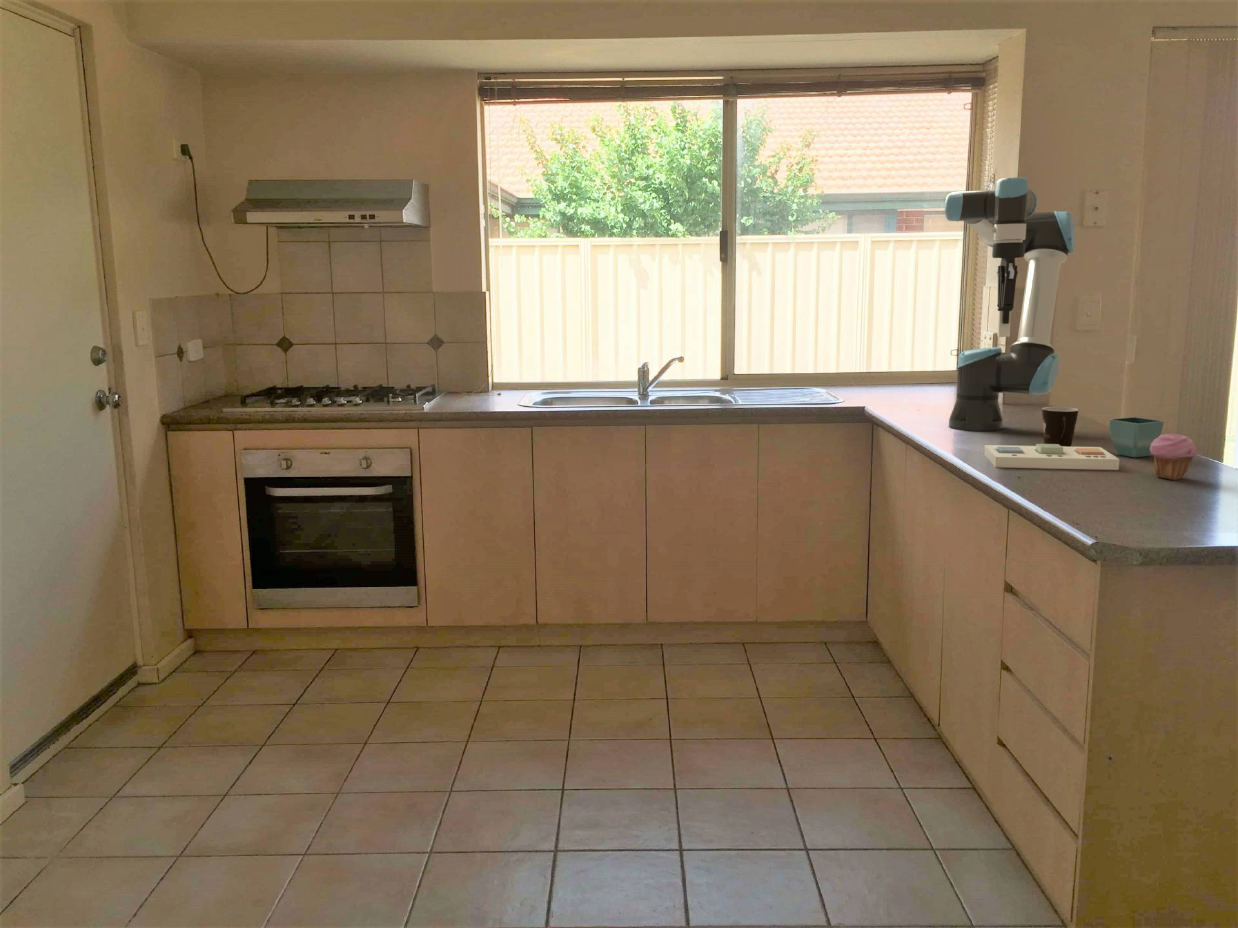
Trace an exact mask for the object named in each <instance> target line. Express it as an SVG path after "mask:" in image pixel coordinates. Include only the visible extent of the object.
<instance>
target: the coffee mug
mask: <svg viewBox="0 0 1238 928" xmlns="http://www.w3.org/2000/svg"><path fill="white" fill-rule="evenodd" d="M1041 412H1042V428H1043V430H1042V431H1043V444H1059V445H1060V446H1065V447H1072V445H1073V439H1074V435H1075V430H1076V424H1077V419H1078V415H1079V414H1078V413H1079V409H1078V408H1074V407H1065V406H1046V407H1042V408H1041Z"/></svg>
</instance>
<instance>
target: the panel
mask: <svg viewBox="0 0 1238 928" xmlns="http://www.w3.org/2000/svg"><path fill="white" fill-rule="evenodd" d="M997 447H1019V448H1020V449H1022V450H1023V454H1016V453H998V452H997ZM1061 447H1063V454H1038V453H1037V452H1036V445H995V444H994V445H993V444H985V445H984V454H983V455H984V457H985V458H986V459H987V460H988V461H989V462H990V463H991V464H992V465H993V466H994V468H1009V469H1010V468H1011V469H1012V468H1017V469H1055V470H1056V469H1057V470H1058V469H1060V470H1061V469H1062V470H1098V471H1099V470H1100V471H1101V470H1102V471H1103V470H1107V471H1114V470H1115V471H1119V469H1120V459H1119V458H1118V457H1117V456H1115V455H1114V454H1112V453H1110V452H1109V451H1108V450H1106V449H1104V448H1103V447H1102V446H1071V447H1065V446H1061ZM1076 448H1098V449H1100V450H1101V451H1103V452H1104V455H1079V454H1077V453H1076V452H1075V451H1076Z"/></svg>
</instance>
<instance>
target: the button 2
mask: <svg viewBox="0 0 1238 928" xmlns="http://www.w3.org/2000/svg"><path fill="white" fill-rule="evenodd" d="M1035 446H1036V452H1037V453H1038V454H1063V447H1061V446H1060V445H1059V444H1044V443H1036V444H1035Z"/></svg>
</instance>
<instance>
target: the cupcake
mask: <svg viewBox="0 0 1238 928" xmlns="http://www.w3.org/2000/svg"><path fill="white" fill-rule="evenodd" d="M1150 452H1151V454H1150V455H1153V460H1154V475H1155V476H1156V477H1158V478H1163V479H1168V480H1171V481H1177V480H1179V479H1182V478H1183V477H1185V475H1186V474H1187V472H1189V469H1190V466H1191V463H1192V460H1193V458H1195V457H1196V456H1197V448H1196V444H1195V443H1194V441H1193V439H1191V437H1188V436H1186V435H1183V434H1177V433H1169V434H1168V433H1167V434H1161V435H1160V436H1159V437H1158V438H1157V439H1155V440H1154V441H1153V442H1152V443H1151V446H1150Z"/></svg>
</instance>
